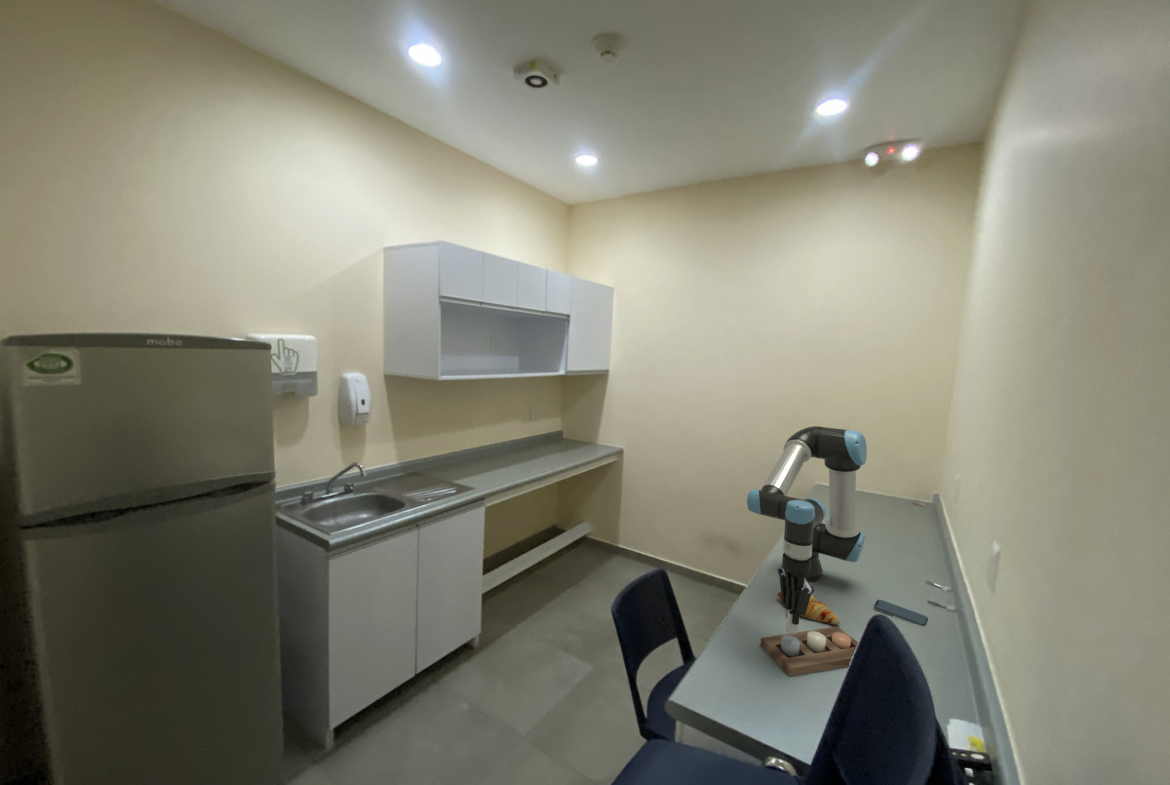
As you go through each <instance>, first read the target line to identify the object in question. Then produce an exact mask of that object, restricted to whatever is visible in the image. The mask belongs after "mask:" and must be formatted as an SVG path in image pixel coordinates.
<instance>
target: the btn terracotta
mask: <svg viewBox="0 0 1170 785" xmlns="http://www.w3.org/2000/svg"><path fill="white" fill-rule="evenodd" d="M849 636H850V635H849ZM849 636H847V635H846V634H843V633H839V632H835V633H833V634H832V643H833V644H835V645H836V646H837V647H838V648H839V649H846V648H850V646H851V638H850V637H849Z"/></svg>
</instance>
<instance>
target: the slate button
mask: <svg viewBox="0 0 1170 785" xmlns="http://www.w3.org/2000/svg"><path fill="white" fill-rule="evenodd" d="M799 649H800V641H799V640H798V639H797V638H796V637H794V636H790V635H784V636H782V638H781V651H782V653H783V654H784V655H785V656H787V657H789V658H790V657H796V656H799Z"/></svg>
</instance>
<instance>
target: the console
mask: <svg viewBox="0 0 1170 785" xmlns="http://www.w3.org/2000/svg"><path fill="white" fill-rule="evenodd" d="M810 631H815V632H819V633H821V634H823V635H824V636H825V637H826V646H825V652H821V653H817V652H814V651H812V650H810V649H809V648H808V647H807V634H808V632H810ZM835 632H839V633H843V634H846V635H847V636H849V637H850V638H851V646H850V648H846V649H839V648H838V647H837V646H836V645H835V644H833V643H832V634H833V633H835ZM784 635H790V636H794V637H796V638H797V639H798V640H799V641H800V649H799V656H796V657H790V656H787V655H785V654H784V653H782V651H781V638H782V636H784ZM857 645H858V641H857V640H856V639H854V637H852V636H851V635H849V634H848V633H847V632H845V631H844V629H842V628H840V626H837V625H835V626H832V627H831V626H829V627H823V628H817V629H810V630H803V631H797V633H794V634H788V633H782V634H777V635H770V636H763V637H762V636H761V637H760V647H761V648H762V649H764V651H766V652H767V654H768V655H769V657H771V658H772V659H773V660H774V661H775V662H776V663H777V664H778V665H779V666H780V668H781V669H783V670H784V671H785V673H786V674H787V675H788V676H789V677H790V678H791V677H796V676H802V675H808V674H813V673H819V672H825V671H830V670H831V671H832V670H836V669H842V668H843V669H844V668H849V667H850V666H849V663H850V661H851V658H852V656H853V654H854V651H855V649H856V647H857ZM848 666H849V667H848Z"/></svg>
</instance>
